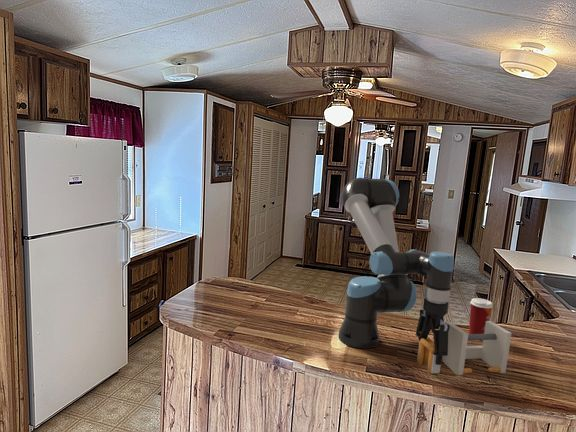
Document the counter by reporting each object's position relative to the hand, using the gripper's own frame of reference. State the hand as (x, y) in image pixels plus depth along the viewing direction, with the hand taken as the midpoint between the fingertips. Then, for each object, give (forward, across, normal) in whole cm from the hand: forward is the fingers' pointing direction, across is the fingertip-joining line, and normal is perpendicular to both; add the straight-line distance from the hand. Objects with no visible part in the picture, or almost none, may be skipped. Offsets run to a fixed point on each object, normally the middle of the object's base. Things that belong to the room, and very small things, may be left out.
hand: (428, 365), depth 132 cm
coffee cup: (+1, +22, -35) cm, 41 cm away
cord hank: (+1, 0, 0) cm, 1 cm away
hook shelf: (+1, 0, -16) cm, 17 cm away
